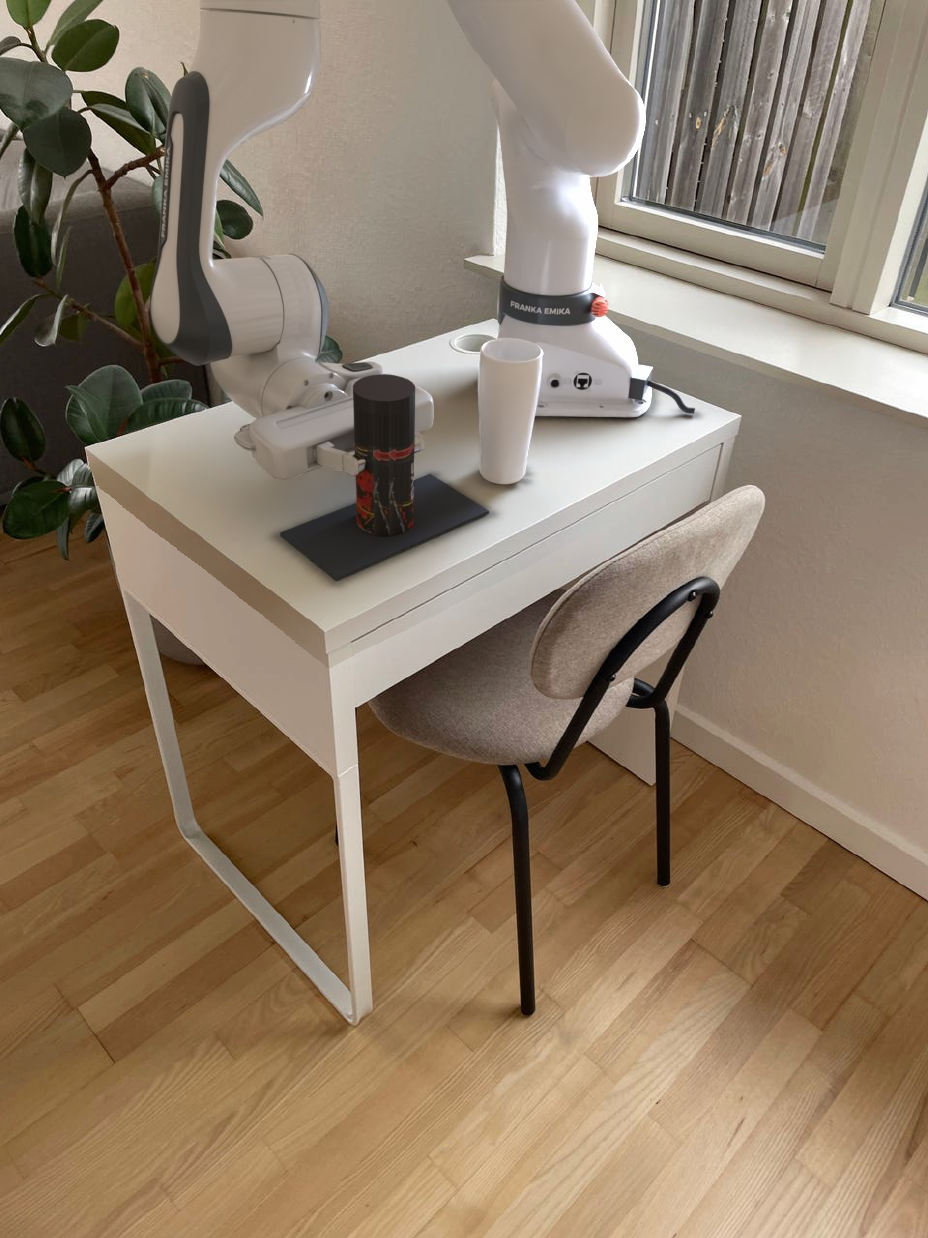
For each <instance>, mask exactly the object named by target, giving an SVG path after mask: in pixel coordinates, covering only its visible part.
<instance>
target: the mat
mask: <svg viewBox="0 0 928 1238" xmlns="http://www.w3.org/2000/svg"><path fill="white" fill-rule="evenodd" d="M489 514H490V510H489V509H488V508H486V507H485V506H483V505H481V504H480V503H478V502H477V501H475V500H473V499H472V498H470V497H469V496H467V495H465V494H463V493H462V492H461V491H460V490H459V491H458V490H457V489H455V488H454V487H452V485H449V484H447V483H446V482H445V481H443V480H441V479H440V478H438V477H436V476H435V475H434V474H432V473H428V474H426V475H422V476H420V477H418V478H414V518H413V525H412V527H411V528H410V529H409V530H408V531H406V532H405V533H403V534H400V535H396V536H390V537H381V536H374V535H371V534H368V533H366V532H364V531H362V530H361V529H360V528H359V526H358V524H357V508H356V502H354V503H352V504H349V505H346V506H344V507H341V508H339V509H336V510H334V511H331V512H329V513H326V514H324V515H321V516H319V517H316V518H313V519H311V520H308V521H305V522H303V523H301V524H298V525H296V526H293V527H290V528H287V529H285V530H282V531H280V532H279V536H280V537H281V538H283V539H284V540H285V541H286V542H287V543H289V544H290V545H291V546H292V547H294V548H295V549H296V550H297V551H299V552H300V553H301V554H302V555H304V556H305V557H306V558H308V559H309V561H311V562H312V563H314V565H316V566H317V567H319V568H320V569H321V570H323V571H324V572H325V573H326V574H327V575H328V576H330V577H331V578H332V579H333V580H335V581H336V582H337V581H339V580H341V579H344V578H347V577H348V576H351V575H353V574H355V573H358V572H360V571H363V570H364V569H367V568H369V567H371V566H373V565H375V564H377V563H380V562H383V561H384V560H387V559H390V558H392V557H394V556H396V555H399V554H400V553H404V552H405V551H407V550H410V549H412V548H414V547H417V546H418V545H421V544H424V543H425V542H428V541H430V540H432V539H435V538H437V537H439V536H441V535H444V534H446V533H448V532H451V531H452V530H455V529H457V528H459V527H462V526H464V525H467V524H468V523H471V522H474V521H475V520H478V519H480V518H482V517H485V516H487V515H489Z"/></svg>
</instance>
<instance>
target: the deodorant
mask: <svg viewBox="0 0 928 1238" xmlns="http://www.w3.org/2000/svg"><path fill="white" fill-rule="evenodd" d="M388 374H389V373H383V374H379V375H371V376H366V377H363V378H361V379H359V380H358V381H356V382H355V383H354V385H353V409H354V442H355V450H356V451H357V452H359V454H361V455H363V456H364V457H365V459H366V465H365V466H366V471H365V472H363V473H361V474H358V475H355V500H356V501H355V503H356V508H357V524H358V526H359V528H360V529H361V530H362V531H364V532H366V533H368V534H371V535H374V536H381V537H390V536H396V535H400V534H403V533H405V532H406V531H408V530H409V529H410V528H411V527H412V525H413V518H414V480H415V453H414V449H415V385H416V384H415V383H414V382H413V381H411V380H409V379H408V378H406V377H404V376H399V375H395V374H392V375H388ZM414 384H415V385H414Z"/></svg>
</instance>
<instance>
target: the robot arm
mask: <svg viewBox="0 0 928 1238" xmlns="http://www.w3.org/2000/svg"><path fill="white" fill-rule="evenodd" d="M445 1H446V3H447V5H448V7H449V8H450V11H451V12H452V14H453V16H454V18H455V19H456V22H457V23H458V25H459V27H460V29H461V31H462V33H463V34H464V36H465V38H466V39H467V41H468V43H469V45H470V46H471V48H472V49H473V50H474V51H475V53H476V55H478V56H479V57H480V58H481V60H482V61H483V63H485V65H486V66H487V68H488V69H489V70H490V72H491V73H492V75H493V81H492V83H491V92H490V97H491V98H490V100H491V101H490V102H491V107H492V110H493V114H494V116H495V117H494V118H495V121H496V124H497V127H498V132H499V140H500V141H499V143H500V153H501V162H502V170H503V171H502V172H503V180H504V190H505V201H506V231H505V232H506V233H505V250H504V264H503V265H504V266H503V274H502V276H501V278H500V280H499V285H498V289H497V302H496V303H497V306H496V316H497V323H498V328H497V334H496V338H495V339H499V338H516V339H522V340H526V341H530V342H532V343H534V344H536V345H538V346H539V347H540V348H541V349H542V351H543V360H542V376H541V385H540V392H539V397H538V403H537V408H536V413H535V417H580V418H581V417H583V418H584V417H585V418H587V417H588V418H589V417H590V418H638V417H640V416H642V415H643V414H645V413H646V412H647V411H648V409H649V408H650V406H651V402H652V389H654V390H656V391H657V392H658V391H659V392H661V393H664V395H667V396H669V397H670V398H671V399H673V400H674V402H675V403H676V405H677V407H678V408H679V410H681V412H683V413H685V414H690V415H691V414H692V415H695V413H696V407H689V406H687V405H686V404H685V402H684V401H683V400H682V397H680V395H679V394H678V393H677V392H675V390H673V389H671V388H669V387H667V386H665V385H663V384H660V383H658V382H655V381H653V380H652V375H653V369H654V367H653V366H649V365H643V364H639V359H638V354H637V350H636V347H635V345H634V342H633V340H632V339H631V338H630V336H628V335H627V334H626V333H625V332H623V331H622V330H621V329H620V328H619V327H618V326H617V325H616V324H615V323H613V322H612V321H611V319H610V318H608V317H607V316H606V315H607V313H608V311H609V309H608V308H609V302H608V300H607V299H606V292H605V290H604V287H603V284H602V283H599V285H597V283H595V282H594V281H592V275H593V268H594V259H595V253H596V246H597V245H596V244H597V236H598V228H599V219H598V213H597V209H596V206H595V203H594V200H593V196H592V191H591V185H590V177H595V178H596V177H597V178H598V177H600V178H601V177H607V176H610V175H612V174H614V173H616V172H618V171H620V170H621V169H623V168H624V166H626V165H627V164H628V163H629V162H630V161H631V159H632V158H633V157H634V156H635V154H636V153H637V151H638V149H639V147H640V145H641V142H642V140H643V136H644V132H645V127H646V112H645V106H644V103H643V100H642V98H641V95H640V94H639V92H638V91H637V89H636V88H635V87H634V85H632V84H631V82H630V81H629V80H628V78H627V77H626V76H625V75H624V73H622V71H621V70H620V68H619V67H618V66H617V64H616V62H615V61H614V59H613V57H612V56H611V54H610V53H609V50H608V49H607V48H606V46H605V44H604V42H603V41H602V39H601V38H600V36H599V34H598V33H597V31H596V30H595V28H594V26H593V25H592V23H591V22H590V21H589V19H588V18H587V16H586V14H585V13H584V12H583V10H582V9H581V7H580V6H579V4H578V3H577V1H576V0H445ZM199 9H200V11H199V15H200V16H199V18H200V20H199V21H200V22H199V23H200V24H199V37H198V43H197V46H196V47H197V48H196V51H195V55H194V57H193V58H194V59H193V61H192V64H191V67H190V69H189V71H188V72H187V73H186V74H185V75H184V76H182V77H181V78H179V79H178V80H177V81H176V83H175V84H174V86H173V88H172V92H171V95H170V101H169V107H168V112H167V122H166V131H165V141H164V152H163V153H164V154H163V168H162V169H163V171H162V186H161V201H160V203H161V204H160V218H159V233H158V235H159V236H158V246H157V247H158V248H157V257H156V263H155V267H154V273H153V276H152V281H151V286H150V294H149V315H150V321H151V324H152V328H153V331H154V333H155V335H156V337H157V339H158V340H159V342H160V343H161V344H162V345H163V346H164V347H165V348H166V349H168V350H169V352H171V353H172V354H173V355H175V356H176V357H178V358H180V359H181V360H182V361H185V362H187V363H189V364H191V365H193V366H196V367H198V366H199V367H200V366H204V365H207V364H210V369H211V373H212V375H213V377H214V380H215V381H216V383H217V385H219V387H220V389H221V390H222V391H223V393H224V394H225V395H226V396H227V397H228V398H229V399H230V400H231V402H233V403H234V404H235V405H236V406H238V407H239V408H240V409H241V410H243V411H244V412H246V413H247V414H249V415H250V416H251V417H252V418H254V419H255V420H253V421H251V422H250V423H247V424H244V425H242V426H240V428H239V431H237V432H236V433H235V434H234V436H233V440H234V441H235V443H236V445H238V446H239V447H241V448H242V449H243V450H246V451H249V452H251V455H252V457H253V459H254V460H255V462H256V463H257V464H258V465H259V466H260V467H261V468H262V469H263V470H264V471H265V472H266V473H267V474H268V475H269V476H270V477H272V478H273V479H278V480H283V481H284V480H290V479H291V480H292V479H293V478H296V477H298V476H302V475H304V474H306V473H310V472H313V471H316V470H319V469H321V468H324V469H326V470H332V471H341V472H345V473H347V474H348V475H350V476H351V477H356V475H358V474H361V473H363V472H365V471H366V466H365V465H366V459H365V457H364V456H363V455H361V454H359V452H357V451H356V450H355V442H354V409H353V385H354V383H355V382H356V381H358V380H359V379H361V378H363V377H366V376H371V375H379V374H384V371H383V366H382V365H381V364H380V363H377V362H375V361H359V362H349V363H348V362H347V363H334V362H324V361H323V362H322V361H321V362H317V361H318V360H319V358H320V355H321V353H322V349H323V347H324V343H325V339H326V335H327V331H328V326H329V317H330V316H329V315H330V314H329V313H330V312H329V311H330V310H329V309H330V307H329V300H328V295H327V292H326V290H325V288H324V286H323V284H322V282H321V279H320V277H318V274H317V273H316V272H315V270H314V269H313V268H312V267H311V266H310V265H309V263H308V262H307V261H305V260H304V259H303V258H301V257H300V256H298V255H297V254H294V253H285V254H284V253H281V254H265V255H262V254H261V255H252V256H247V257H234V258H219V259H218V258H217V259H214V258H213V249H214V238H215V229H216V228H215V227H216V214H217V203H218V190H219V180H220V176H221V172H222V170H223V168H224V165H225V163H226V161H227V160H228V158H229V157H230V156H231V155H232V153H233V152H234V151H235V150H236V149H237V148H239V147H240V146H242V145H243V144H244V143H246V142H247V141H249V140H251V139H252V138H254V137H256V136H258V135H260V134H262V133H264V132H266V131H268V130H270V129H272V128H275V127H277V126H279V125H281V124H282V123H284V122H285V121H287V120H289V119H290V118H292V116H294V115H295V114H296V113H298V111H300V109H302V108H303V107H304V105H305V104H306V103H307V102H308V100H309V99H310V97H311V96H312V94H313V93H314V91H315V89H316V87H317V84H318V81H319V80H318V79H319V75H320V69H321V59H322V27H321V26H322V23H321V0H199ZM387 374H388V375H393V374H391V373H387ZM413 384H414V385H415V449H414V454H417V453H419V452H420V453H421V452H423V451H424V450H425V438H424V435H422V434H421V433H422V432H427V431H428V430H430V429H432V428H433V425H434V417H435V416H434V414H435V405H434V399H433V396H432V395H431V394H430V393H429V392H428V391H427V390H425V389H423V388H421V387H420V386H419V385H417V384H415V383H413Z"/></svg>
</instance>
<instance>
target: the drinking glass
mask: <svg viewBox="0 0 928 1238" xmlns="http://www.w3.org/2000/svg"><path fill="white" fill-rule="evenodd" d="M478 358H479V359H478V370H477V407H478V410H477V411H478V433H479V434H478V436H479V439H478V440H479V463H478V465H479V466H478V470H479V473H480V475H481V477H482V478H483V479H484V480H486V481H488V482H490V483H493V484H496V485H511V484H515V483H518V482H520V481H521V480H522V479H523V478H524V477H525V476H526V472H527V463H528V457H529V456H528V455H529V449H530V444H531V439H532V434H533V429H534V424H535V417H536V416H535V413H536V408H537V403H538V397H539V392H540V385H541V376H542V360H543V351H542V349H541V348H540V347H539V346H538V345H536V344H534V343H532V342H530V341H526V340H522V339H516V338H499V339H496V338H494V339H491V340H488V341H486V342H484V343H483V344H482V345H481V346H480V348H479V357H478Z"/></svg>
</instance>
